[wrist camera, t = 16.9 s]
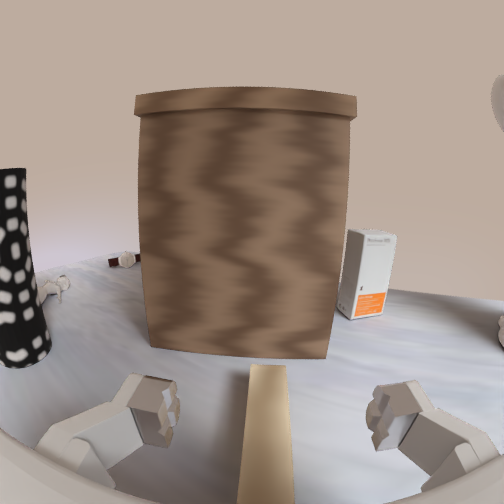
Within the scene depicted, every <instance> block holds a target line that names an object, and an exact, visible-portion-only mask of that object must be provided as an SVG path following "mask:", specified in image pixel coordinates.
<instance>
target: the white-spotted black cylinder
mask: <svg viewBox="0 0 504 504" xmlns="http://www.w3.org/2000/svg"><path fill="white" fill-rule="evenodd" d="M26 202H27V201H26V169H25V168H9V169H0V363H1V364H2V365H3V366H5V367H9V368H23V367H28V366H30V365H33V364H35V363H37V362H39V361H40V360H41V359H43V358H44V357H45V356H46V355H47V354H48V352H49V351H50V349H51V345H52V343H51V339H50V336H49V332H48V329H47V325H46V322H45V318H44V314H43V310H42V306H41V302H40V298H39V294H38V289H37V284H36V279H35V274H34V268H33V262H32V255H31V248H30V240H29V230H28V219H27V203H26Z"/></svg>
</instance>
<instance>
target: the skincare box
mask: <svg viewBox="0 0 504 504" xmlns="http://www.w3.org/2000/svg"><path fill="white" fill-rule="evenodd" d="M396 241H397V236H396V235H394V234H391V233H388V232H385V231H382V230H370V229H360V230H359V229H349V230H348V234H347V243H346V252H345V259H344V266H343V273H342V280H341V286H340V293H339V298H338V304H337V308H338V309H339V310H340V311H341V312H342V313H343V314H344V315H345V316H347V317H348V318H349V319H350V320H352V319H357V318H364V317H370V316H377V315H382V313H383V309H384V305H385V300H386V296H387V291H388V286H389V281H390V276H391V271H392V265H393V259H394V254H395V247H396Z"/></svg>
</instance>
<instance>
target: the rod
mask: <svg viewBox="0 0 504 504" xmlns="http://www.w3.org/2000/svg"><path fill="white" fill-rule="evenodd" d="M237 504H295V502H294V480H293V461H292V444H291V429H290V414H289V400H288V387H287V374H286V366H281V365H256V364H251V368H250V379H249V389H248V399H247V409H246V419H245V429H244V439H243V449H242V458H241V468H240V477H239V486H238V496H237Z"/></svg>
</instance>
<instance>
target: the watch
mask: <svg viewBox="0 0 504 504" xmlns="http://www.w3.org/2000/svg"><path fill="white" fill-rule="evenodd" d="M108 261H109V266H110V267H112V266H118V265H120V266H123V267H125V268H130V267H131V266H132V265H133V264H134V263H136V262H140V261H141V257H140V254H136V255H132V254H131V253H129V252H126V251H125V253H123V254H122V255H121V256H120V257H118V258H112V259H108Z"/></svg>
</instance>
